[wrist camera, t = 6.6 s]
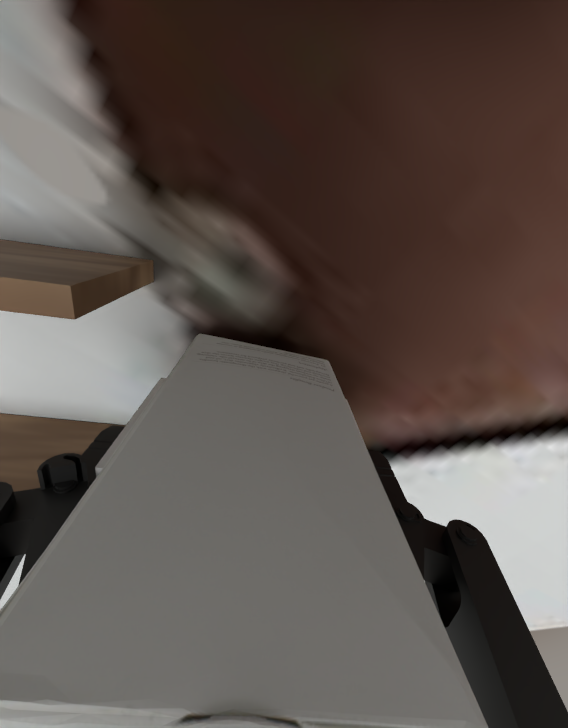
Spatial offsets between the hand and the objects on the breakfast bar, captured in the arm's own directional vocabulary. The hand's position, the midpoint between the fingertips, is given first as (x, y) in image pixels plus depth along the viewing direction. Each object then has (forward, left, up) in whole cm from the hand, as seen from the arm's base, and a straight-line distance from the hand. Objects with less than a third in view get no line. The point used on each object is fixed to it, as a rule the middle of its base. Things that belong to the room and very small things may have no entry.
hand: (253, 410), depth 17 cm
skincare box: (0, 0, -3) cm, 3 cm away
